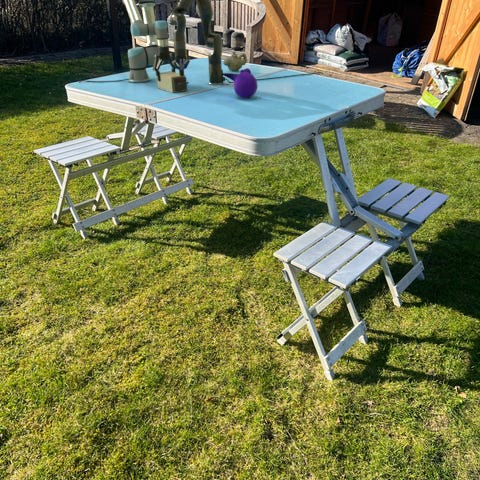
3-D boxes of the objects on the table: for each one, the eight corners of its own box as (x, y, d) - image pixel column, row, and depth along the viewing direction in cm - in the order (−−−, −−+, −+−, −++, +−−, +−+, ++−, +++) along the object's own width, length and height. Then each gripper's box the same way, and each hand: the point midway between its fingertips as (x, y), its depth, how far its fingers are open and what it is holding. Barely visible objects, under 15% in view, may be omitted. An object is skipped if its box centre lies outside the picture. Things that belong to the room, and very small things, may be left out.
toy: (243, 90, 304) (257, 103, 283) (218, 85, 297) (231, 99, 276) (249, 66, 296) (264, 78, 275) (224, 61, 289) (238, 73, 268)
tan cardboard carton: (186, 90, 309) (185, 75, 304) (172, 92, 303) (171, 77, 298) (171, 85, 323) (170, 71, 317) (158, 88, 317) (156, 73, 312)
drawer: (191, 90, 303) (190, 78, 299) (178, 92, 298) (177, 80, 294) (173, 85, 319) (171, 73, 315) (160, 87, 314) (159, 75, 310)
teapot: (227, 73, 359) (226, 53, 351) (220, 71, 367) (219, 51, 360) (250, 70, 368) (249, 51, 360) (242, 68, 376) (242, 49, 369)
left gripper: (150, 48, 295) (154, 82, 306) (180, 44, 307) (183, 78, 318) (145, 47, 300) (149, 81, 311) (175, 43, 312) (178, 76, 323)
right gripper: (173, 49, 282) (176, 78, 291) (191, 47, 289) (193, 75, 298) (167, 48, 287) (170, 76, 296) (185, 46, 294) (187, 74, 303)
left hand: (166, 79), depth 315 cm, fingers closed on tan cardboard carton, 11 cm apart
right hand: (181, 75), depth 297 cm, fingers closed
